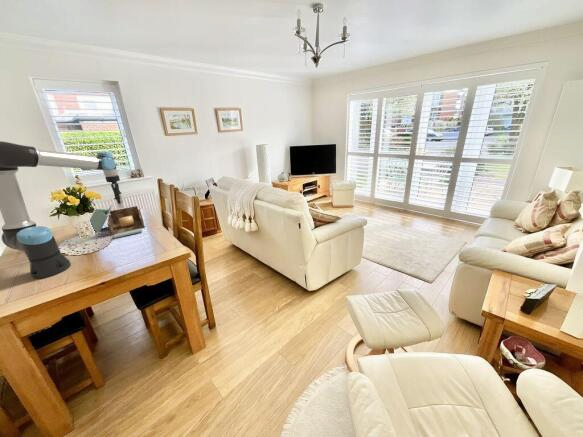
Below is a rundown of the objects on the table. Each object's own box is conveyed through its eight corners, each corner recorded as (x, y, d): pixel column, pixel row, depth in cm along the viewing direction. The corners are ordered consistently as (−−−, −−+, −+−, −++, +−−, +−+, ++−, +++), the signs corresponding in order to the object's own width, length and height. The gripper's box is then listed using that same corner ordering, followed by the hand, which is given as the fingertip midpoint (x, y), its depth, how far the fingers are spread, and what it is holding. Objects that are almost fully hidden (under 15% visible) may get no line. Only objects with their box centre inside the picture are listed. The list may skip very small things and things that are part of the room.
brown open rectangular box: (111, 236, 161) (105, 220, 156) (112, 226, 178) (107, 211, 173) (145, 229, 171) (140, 213, 166) (143, 220, 188) (138, 205, 183)
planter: (87, 222, 175) (100, 198, 174) (100, 225, 180) (112, 202, 180) (85, 229, 162) (98, 203, 162) (99, 233, 167) (112, 208, 167)
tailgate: (115, 235, 161) (114, 238, 154) (114, 234, 161) (113, 236, 154) (142, 229, 169) (142, 231, 163) (141, 228, 169) (141, 230, 162)
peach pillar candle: (121, 228, 169) (118, 220, 166) (121, 225, 175) (118, 216, 172) (134, 226, 173) (132, 217, 170) (134, 222, 179) (131, 214, 176)
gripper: (118, 177, 152) (127, 208, 160) (118, 172, 171) (127, 200, 179) (103, 179, 148) (114, 211, 156) (105, 173, 168) (115, 202, 175)
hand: (121, 205), depth 168 cm, fingers open, 13 cm apart
